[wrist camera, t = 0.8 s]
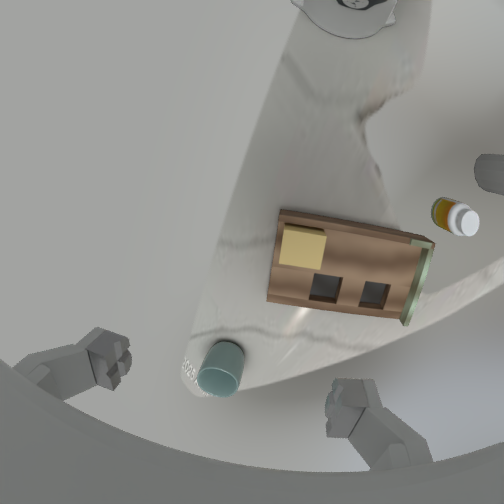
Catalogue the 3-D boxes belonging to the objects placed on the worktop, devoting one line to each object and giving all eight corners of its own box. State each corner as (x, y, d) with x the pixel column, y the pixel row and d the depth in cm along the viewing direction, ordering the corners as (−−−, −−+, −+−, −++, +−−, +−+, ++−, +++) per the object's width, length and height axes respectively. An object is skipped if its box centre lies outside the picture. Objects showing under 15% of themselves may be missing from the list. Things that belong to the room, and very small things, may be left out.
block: (285, 222, 43) (284, 229, 38) (323, 228, 42) (326, 236, 38) (280, 252, 45) (278, 263, 40) (317, 258, 44) (319, 269, 39)
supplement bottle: (431, 228, 42) (458, 244, 33) (428, 198, 41) (456, 208, 31) (454, 224, 41) (482, 238, 32) (452, 195, 39) (482, 203, 30)
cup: (216, 330, 54) (202, 361, 45) (252, 344, 54) (244, 377, 44) (206, 356, 57) (192, 387, 47) (240, 369, 56) (231, 402, 47)
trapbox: (280, 209, 45) (279, 215, 40) (423, 235, 43) (436, 244, 37) (267, 294, 50) (264, 309, 45) (399, 312, 47) (408, 327, 42)
